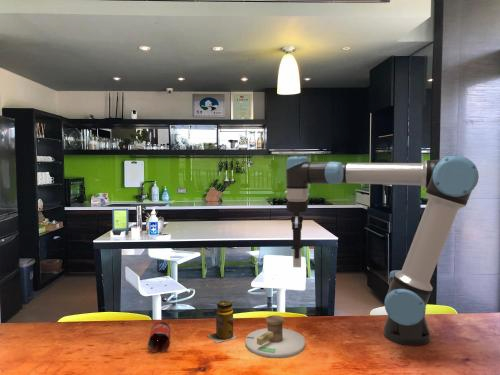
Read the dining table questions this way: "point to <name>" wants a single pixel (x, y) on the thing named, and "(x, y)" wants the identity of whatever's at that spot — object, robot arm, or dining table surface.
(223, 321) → the condiment
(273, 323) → the tuning knob
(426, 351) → the dining table surface
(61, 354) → the dining table surface
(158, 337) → the beverage can
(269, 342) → the dial plate
